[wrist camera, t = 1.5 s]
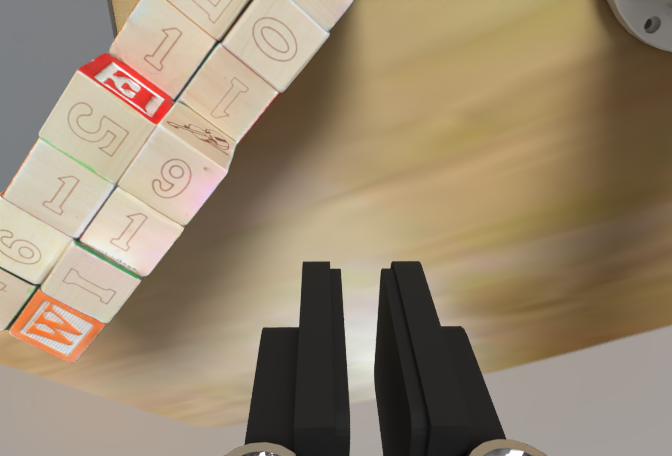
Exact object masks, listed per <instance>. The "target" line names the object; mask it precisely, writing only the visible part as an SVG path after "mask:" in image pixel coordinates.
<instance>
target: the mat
mask: <svg viewBox="0 0 672 456" xmlns="http://www.w3.org/2000/svg"><path fill="white" fill-rule="evenodd" d="M116 36H117V29H116V24H115V18H114V13H113V7H112V2H111V0H0V193H1V192H3V191H4V190H5V189H6V188H7V187H8V186H9V184H10V182H11V181H12V179H13V178H14V176H15V175H16V173H17V171H18V170H19V168H20V166H21V165H22V163H23V161H24V160H25V158H26V157H27V155H28V153H29V152H30V150H31V149H32V147H33V146H34V144H35V143H36V141H37V140H38V138H39V131H40V130H41V128H42V126H43V125H44V123H45V122H46V120H47V118H48V117H49V115H50V114H51V112H52V110H53V109H54V107H55V105H56V103H57V102H58V100H59V99H60V97H61V95H62V94H63V92H64V90H65V89H66V87H67V86H68V84H69V82H70V81H71V79H72V77H73V76H74V74H75V72H76V71H77V69H79V68H80V67H81V66H83V65H85V64H86V63H88V62H90V61H91V60H93V59H95V58H97V57H98V56H99V55H101V54H103V53H108V52H109V51H110V47H111V45H112V43H113V41H114V39H115V38H116Z"/></svg>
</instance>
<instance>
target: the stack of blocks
mask: <svg viewBox="0 0 672 456" xmlns="http://www.w3.org/2000/svg"><path fill="white" fill-rule="evenodd" d="M354 1H355V0H139V1H138V2H137V4H136V5H135V7H134V8H133V10H132V12H131V13H130V15H129V17H128V18H127V20H126V22H125V23H124V25H123V27H122V28H121V30H120V31H119V33H118V35H117V36H116V38H115V39H114V41H113V43H112V45H111V47H110V51H109V52H108V53H103V54H101V55H99V56H98V57H97V58H95V59H93V60H91V61H90V62H88V63H86V64H85V65H83V66H81V67H80V68H79V69H77V71H76V72H75V74H74V76H73V77H72V79H71V81H70V82H69V84H68V86H67V87H66V89H65V90H64V92H63V94H62V95H61V97H60V99H59V100H58V102H57V103H56V105H55V107H54V109H53V110H52V112H51V114H50V115H49V117H48V118H47V120H46V122H45V123H44V125H43V126H42V128H41V130H40V131H39V138H38V140H37V141H36V143H35V144H34V146H33V147H32V149H31V150H30V152H29V153H28V155H27V157H26V158H25V160H24V161H23V163H22V165H21V166H20V168H19V170H18V171H17V173H16V175H15V176H14V178H13V179H12V181H11V182H10V184H9V186H8V187H7V188H6V189H5V190H4V191H3V192H1V193H0V331H4V330H8V333H9V334H11V335H12V336H14V337H15V338H17V339H19V340H21V341H24V342H26V343H28V344H30V345H32V346H34V347H36V348H38V349H41V350H43V351H45V352H47V353H49V354H51V355H54V356H56V357H58V358H60V359H62V360H64V361H67V362H69V363H75V362H76V361H77V360H78V358H79V357H80V356H81V355H82V353H83V352H84V351H85V350H86V348H87V347H88V346H89V345H90V343H91V342H92V341H93V340H94V339H95V337H96V336H97V335H98V334H99V333H100V331H101V330H102V329H103V328H104V326H105V324H106V323H109V322H110V321H111V320H112V319H113V317H114V316H115V315H116V313H117V312H118V311H119V310H120V308H121V307H122V306H123V304H124V303H125V302H126V301H127V299H128V298H129V297H130V295H131V294H132V293H133V292H134V290H135V289H136V288H137V286H138V285H139V284H140V282H141V280H142V279H143V277H144V276H148V275H150V273H151V272H152V271H153V270H154V268H155V267H156V266H157V264H158V263H159V262H160V260H161V259H162V258H163V257H164V255H165V254H166V253H167V252H168V250H169V249H170V248H171V247H172V245H173V244H174V243H175V241H176V240H177V239H178V238H179V236H180V235H181V234H182V232H183V230H184V228H185V227H186V225H187V224H188V223H189V222H190V221H191V220H192V219H193V217H194V216H195V215H196V213H197V212H198V211H199V210H200V208H201V207H202V206H203V204H204V203H205V202H206V201H207V199H208V198H209V197H210V196H211V194H212V193H213V192H214V191H215V189H216V188H217V187H218V185H219V184H220V183H221V181H222V180H223V179H224V178H225V177H226V175H227V174H228V171H229V168H230V165H231V162H232V159H233V156H234V153H235V150H236V146H237V144H238V143H239V142H240V141H241V140H242V139H243V137H244V136H245V135H246V134H247V133H248V131H249V130H250V129H251V128H252V127H253V125H254V124H255V123H256V122H257V120H258V119H259V118H260V117H261V115H262V114H263V113H264V112H265V111H266V109H267V108H268V107H269V106H270V105H271V103H272V102H273V101H274V100H275V98H276V97H277V96H278V95H279V94H280V93H282V92H284V91H285V90H286V89H287V88H288V86H289V85H290V84H291V83H292V82H293V81H294V79H295V78H296V77H297V76H298V75H299V73H300V72H301V71H302V70H303V69H304V67H305V66H306V65H307V64H308V62H309V61H310V60H311V59H312V57H313V56H314V55H315V54H316V52H317V51H318V50H319V49H320V47H321V46H322V45H323V44H324V42H325V41H326V40H327V39H328V37H329V36H330V30H331V28H332V27H333V26H334V25H335V24H336V23H337V21H338V20H339V19H340V18H341V17H342V15H343V14H344V13H345V12H346V10H347V9H348V8H349V7H350V6H351V4H352V3H353V2H354Z"/></svg>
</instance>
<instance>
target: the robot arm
mask: <svg viewBox="0 0 672 456" xmlns="http://www.w3.org/2000/svg"><path fill="white" fill-rule="evenodd" d="M607 2H608V4H609V6H610V8H611V10H612V12H613V13H614V15H615V17H616V19H617V20H618V21H619V22H620V23H621V25H622V26H623V27H624V28H625V29H626V30H627V31H628V32H629V33H630V34H631V35H633V36H634V37H636V38H637V39H639V40H640V41H642V42H643V43H645V44H648V45H650V46H653V47H656V48H658V49H661V50H665V51H669V52H672V0H607ZM646 21H647V24H646V26H644V25H645V23H646ZM374 382H375V392H376V400H377V407H378V416H379V424H380V432H381V440H382V448H383V456H547V455H545V454H544V453H543V452H541V451H539V450H537V449H536V448H534V447H532V446H530V445H528V444H525V443H521V442H518V441H514V440H506V437H505V434H504V432H503V429H502V426H501V424H500V421H499V419H498V416H497V413H496V411H495V408H494V405H493V403H492V400H491V397H490V395H489V392H488V389H487V387H486V384H485V382H484V379H483V376H482V373H481V371H480V368H479V365H478V363H477V360H476V358H475V355H474V352H473V350H472V347H471V344H470V342H469V339H468V336H467V334H466V332H465V330H464V328H462V327H461V326H441V325H440V322H439V319H438V315H437V312H436V309H435V306H434V303H433V300H432V297H431V293H430V290H429V287H428V284H427V281H426V278H425V275H424V271H423V268H422V265H421V263H420V262H419V261H392V263H391V269H382V270H381V277H380V292H379V306H378V321H377V335H376V350H375V364H374ZM349 453H350V408H349V392H348V376H347V360H346V345H345V329H344V313H343V298H342V282H341V269H330V262H303V267H302V286H301V304H300V322H299V327H278V328H263V329H262V334H261V339H260V346H259V353H258V359H257V366H256V372H255V379H254V386H253V392H252V399H251V405H250V412H249V419H248V425H247V432H246V439H245V445H244V446H241V447H238V448H235V449H234V450H232V451H231V452H229V453H228V454H226V455H225V456H349Z"/></svg>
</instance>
